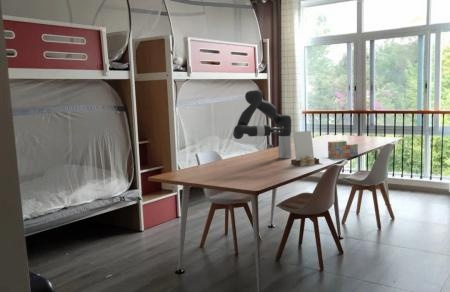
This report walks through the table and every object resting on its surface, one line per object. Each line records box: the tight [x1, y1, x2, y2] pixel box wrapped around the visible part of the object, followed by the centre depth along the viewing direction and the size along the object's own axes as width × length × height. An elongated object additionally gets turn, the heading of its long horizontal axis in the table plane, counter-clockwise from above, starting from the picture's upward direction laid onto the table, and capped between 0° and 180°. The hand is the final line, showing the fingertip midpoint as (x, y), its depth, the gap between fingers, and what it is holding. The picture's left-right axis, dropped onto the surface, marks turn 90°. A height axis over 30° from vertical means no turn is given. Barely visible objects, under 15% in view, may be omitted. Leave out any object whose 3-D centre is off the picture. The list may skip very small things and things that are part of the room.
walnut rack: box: [290, 157, 324, 168], centre depth 299 cm, size 20×12×4 cm, turn 99°
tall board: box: [292, 130, 315, 160], centre depth 302 cm, size 12×3×22 cm, turn 99°
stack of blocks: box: [327, 139, 359, 159], centre depth 330 cm, size 21×6×12 cm, turn 102°
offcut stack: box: [300, 156, 316, 167], centre depth 295 cm, size 9×5×6 cm, turn 99°
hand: (285, 129), depth 296 cm, fingers open, 8 cm apart
